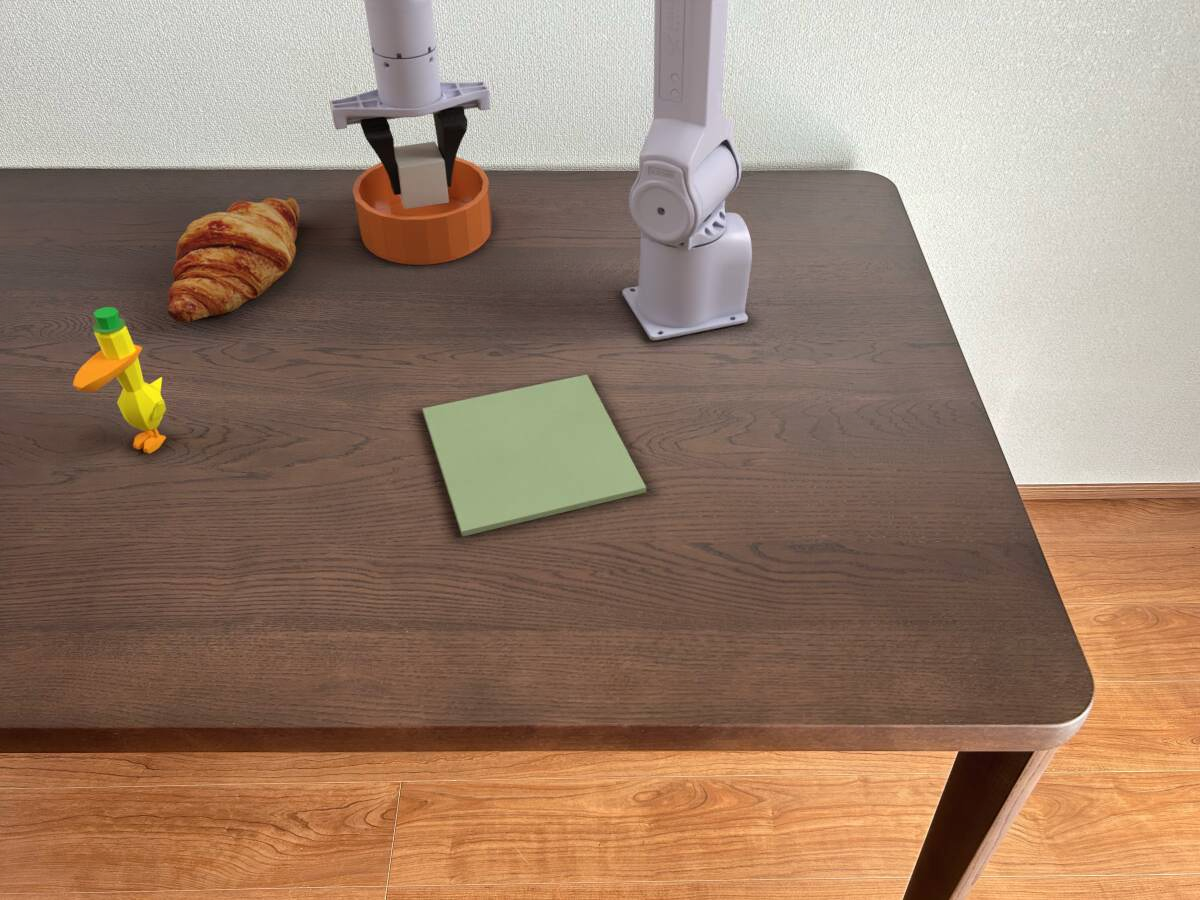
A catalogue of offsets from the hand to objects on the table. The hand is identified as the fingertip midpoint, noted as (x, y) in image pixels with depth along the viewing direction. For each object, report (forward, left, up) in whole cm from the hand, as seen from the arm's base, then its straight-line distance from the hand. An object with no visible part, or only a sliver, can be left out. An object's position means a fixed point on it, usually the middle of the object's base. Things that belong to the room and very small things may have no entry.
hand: (421, 186), depth 96 cm
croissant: (+18, +3, -5) cm, 19 cm away
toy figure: (+27, +25, -5) cm, 37 cm away
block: (0, 0, -1) cm, 1 cm away
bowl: (0, 0, -5) cm, 5 cm away
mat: (-1, +35, -5) cm, 35 cm away
